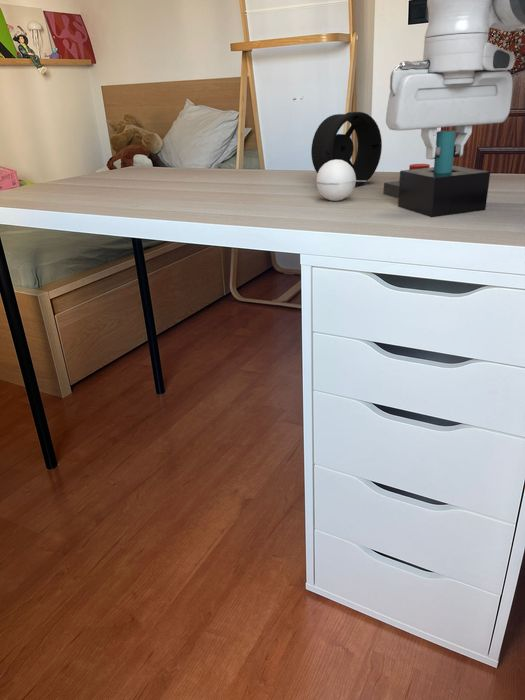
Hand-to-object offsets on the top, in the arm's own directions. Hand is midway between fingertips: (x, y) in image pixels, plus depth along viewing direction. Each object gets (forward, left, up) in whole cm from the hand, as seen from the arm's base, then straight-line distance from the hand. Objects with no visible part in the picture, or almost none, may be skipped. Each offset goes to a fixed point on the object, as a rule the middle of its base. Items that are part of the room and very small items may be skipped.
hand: (444, 157), depth 84 cm
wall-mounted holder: (+3, -32, -8) cm, 33 cm away
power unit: (-4, -13, -8) cm, 16 cm away
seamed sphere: (+11, -15, -8) cm, 20 cm away
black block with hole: (0, 0, -8) cm, 8 cm away
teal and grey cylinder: (0, 0, -8) cm, 8 cm away
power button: (-4, -13, -4) cm, 14 cm away
